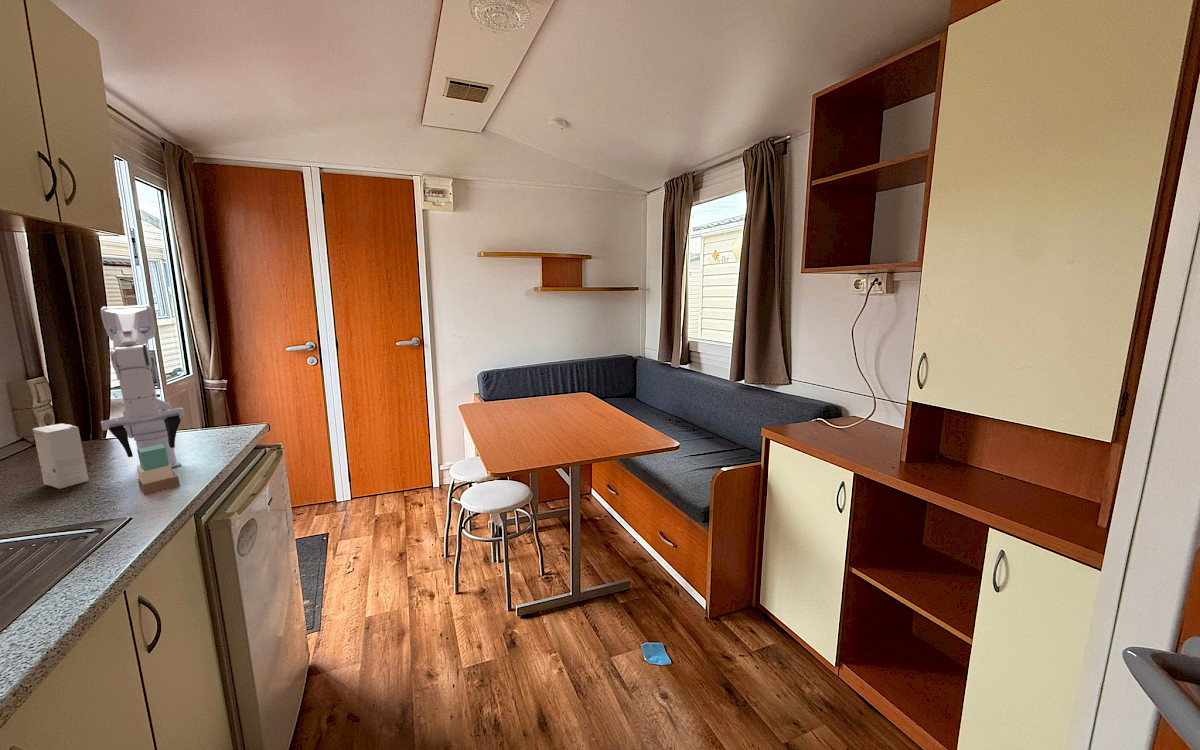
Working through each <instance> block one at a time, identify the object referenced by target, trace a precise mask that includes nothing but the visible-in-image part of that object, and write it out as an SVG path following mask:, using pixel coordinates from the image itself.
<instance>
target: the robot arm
mask: <svg viewBox="0 0 1200 750" xmlns="http://www.w3.org/2000/svg"><path fill="white" fill-rule="evenodd" d="M100 316H101V321H102V324H103V327H104V329H105V331H106V335H107V336H108V337H109V340H111V341H113V343H112V344H113V349H110V351H109V352H110V353H109V355H110V360H111V366H112V368H113V370H114V372H115V374H116V378H117V381H119V386H120V391H121V395H122V400H123V404H124V407H125V408H124V410H123V411H122V415H123V416H120V417H115V418H112V419H106V420H101V421H100V426H101V429H102V431H109V432H110V433H111V434H112V435H113V436H114V437H115V438H116V439H117V440H118V441H119V443H120V444H121V445H122V447H123V449H124V450H125V452H126V455H127V458H133V456H134V455H133V451H132V448H131V445H130V442H129V439H133V440H134V441H135V445H136V450H137V449H140V448H145V447H150V446H155V445H159V444H162V445H163V446H164V447H166V452H167V457H168V462H169V464H170V465H171V468H172V469H173V468H177V467H179V466H182V463H181V462H180V461H179V460H178V459H177V457H176V453H175V452H176V451H175V448H176V446H175V445H176V443H175V442H176V437H177V436H176V435H177V432H178V429H179V426H180V424H181V417H182V418H183V417H185V416H186V415H185V410H184V408H183V407H176V408H172V406H171V404H170V403H169V402H167V401H164V400H162V399H159V398H157V394H156V388H155V385H154V381H153V375H152V371H151V370H152V368H153V367H152V366H153V365H152V359H151V358H152V357H151V354H150V349H149V347H148V342H149V340H150V339H153V338H155V337H156V332H157V331H156V324H155V320H154V319H155V318H154V313H153V308H152V306H151V305H150V304H147V303H146V304H145V305H143V304H142V305H140V304H139V305H121V306H119V305H118V306H106V305H105V306H102V307H101V308H100ZM137 467H141V465H140V464H137V465H136V468H137Z"/></svg>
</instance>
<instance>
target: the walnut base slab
mask: <svg viewBox="0 0 1200 750" xmlns="http://www.w3.org/2000/svg"><path fill="white" fill-rule="evenodd" d="M172 473H173V477H172V478H168V479H164V480H160V481H156V482H152V483H148V484H144V485H143V484H142V482H141V481H140V479H139V478H137V482H138V487H139V490H140V489H141V490H140V491H141V492H142V494H143V493H144V494H143V495H144V496H149V495H152V494H151V493H153V494H155V492H157V493H159V492H158V491H160V492H163V491H162V490H164V491H168V490H172V489H175V487H176V488H178V486H179V487H181V484H180V479H179V476H178V475H177V474H176V473H175V472H174V471H173V470H172ZM171 488H172V489H171ZM167 489H168V490H167ZM148 494H149V495H148Z"/></svg>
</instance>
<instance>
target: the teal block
mask: <svg viewBox="0 0 1200 750" xmlns="http://www.w3.org/2000/svg"><path fill="white" fill-rule="evenodd" d="M136 451H137V455H138V459H139V463H140V464H139V465H141V468H142V469H143V470H144V471H146V470H150V469H155V468H159V467H163V466H167V465H169V462H168V457H167V452H166V447H164V446H163V445H162V444H159V445H155V446H150V447H145V448H140V449H137V448H136Z"/></svg>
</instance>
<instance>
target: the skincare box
mask: <svg viewBox="0 0 1200 750" xmlns="http://www.w3.org/2000/svg"><path fill="white" fill-rule="evenodd" d="M32 432H33V436H34V442H35V446H36V451H37V456H38V462H39V465H40V472H41V475H42V476H41V477H42V480H43V482H42V483H43V484H44V485H45V486H50V487H53V488H56V489H58V490H59V489H64V488H68V487H71V486H75V485H79V484H82V483H85V482H89V481H90V480H89V476H88V470H87V469H88V468H87V465H86V460H85V455H84V449H83V445H82V439H81V435H80V429H79V426H76V425H72V424H69V423H67V424H66V423H56V424H50V425H45V426H40V427H34V428H32Z"/></svg>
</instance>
